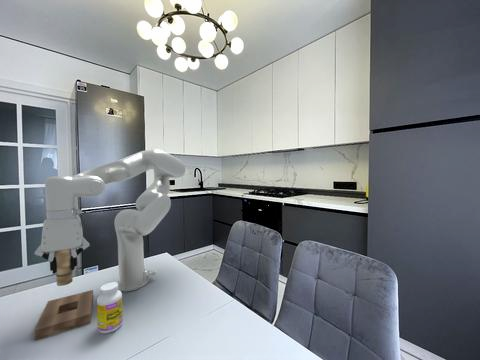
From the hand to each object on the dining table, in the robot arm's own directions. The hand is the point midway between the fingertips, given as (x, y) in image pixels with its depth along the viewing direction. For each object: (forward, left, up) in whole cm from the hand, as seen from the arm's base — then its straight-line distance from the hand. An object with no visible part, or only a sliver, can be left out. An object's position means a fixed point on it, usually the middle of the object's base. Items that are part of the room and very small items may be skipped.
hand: (64, 269), depth 70 cm
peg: (0, 0, -4) cm, 4 cm away
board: (0, 0, -16) cm, 16 cm away
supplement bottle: (-12, +13, -16) cm, 24 cm away
